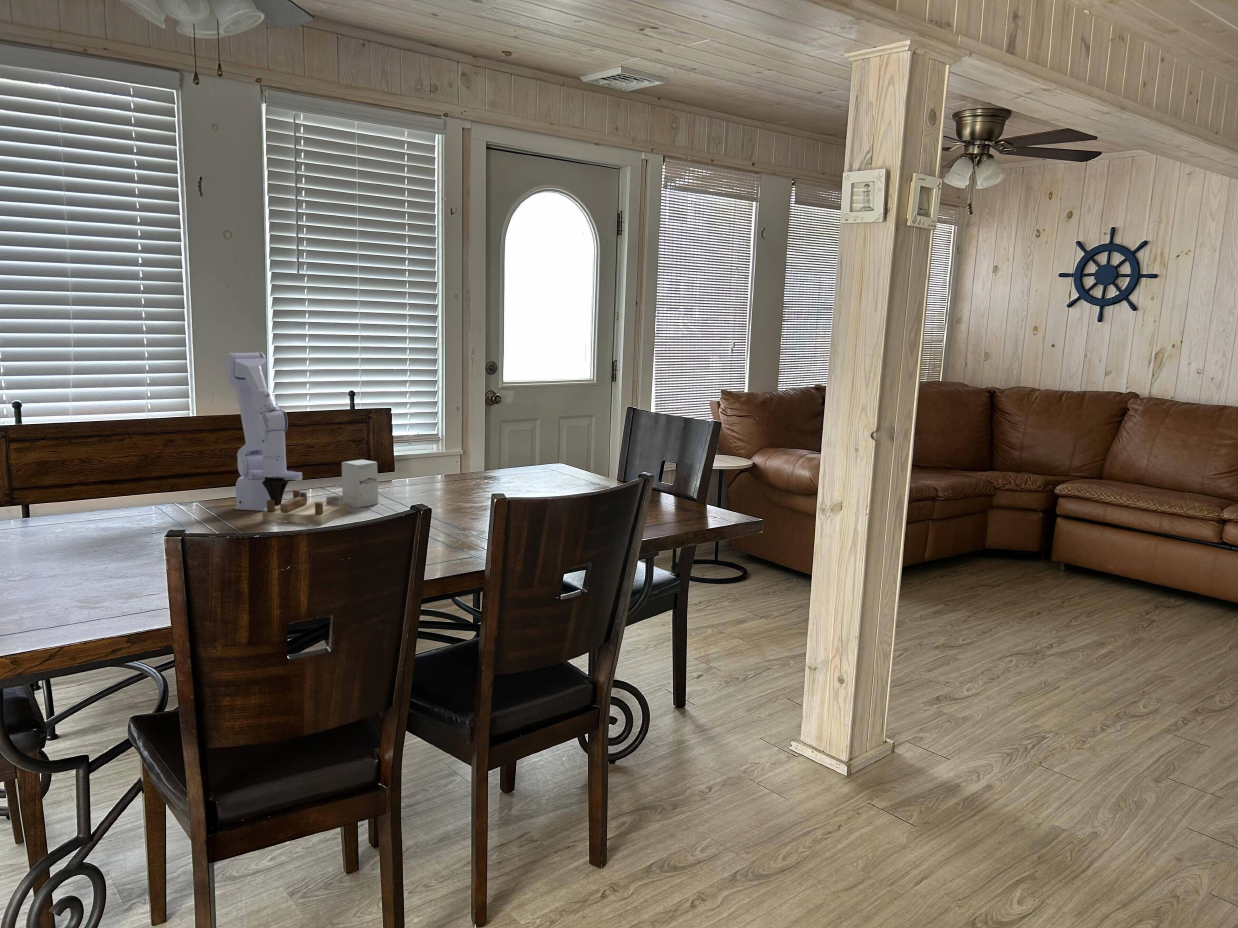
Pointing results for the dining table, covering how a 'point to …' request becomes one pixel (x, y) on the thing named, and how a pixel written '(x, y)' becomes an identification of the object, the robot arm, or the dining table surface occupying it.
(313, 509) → the wooden peg board
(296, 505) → the leg
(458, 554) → the dining table surface
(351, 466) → the supplement box
